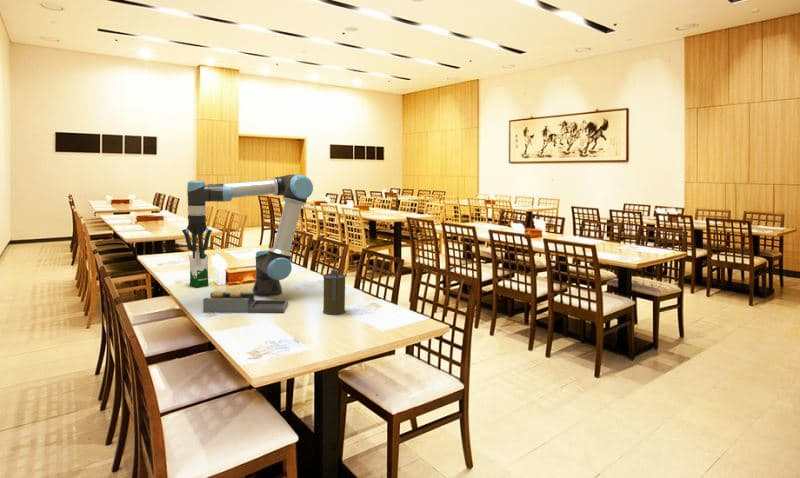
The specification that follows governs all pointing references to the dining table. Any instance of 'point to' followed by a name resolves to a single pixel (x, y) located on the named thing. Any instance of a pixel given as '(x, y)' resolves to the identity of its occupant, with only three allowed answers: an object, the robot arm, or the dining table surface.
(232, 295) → the brass block
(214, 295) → the brass block
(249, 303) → the slot plate
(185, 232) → the robot arm
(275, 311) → the tray
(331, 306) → the canister
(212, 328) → the dining table surface
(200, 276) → the milk carton
